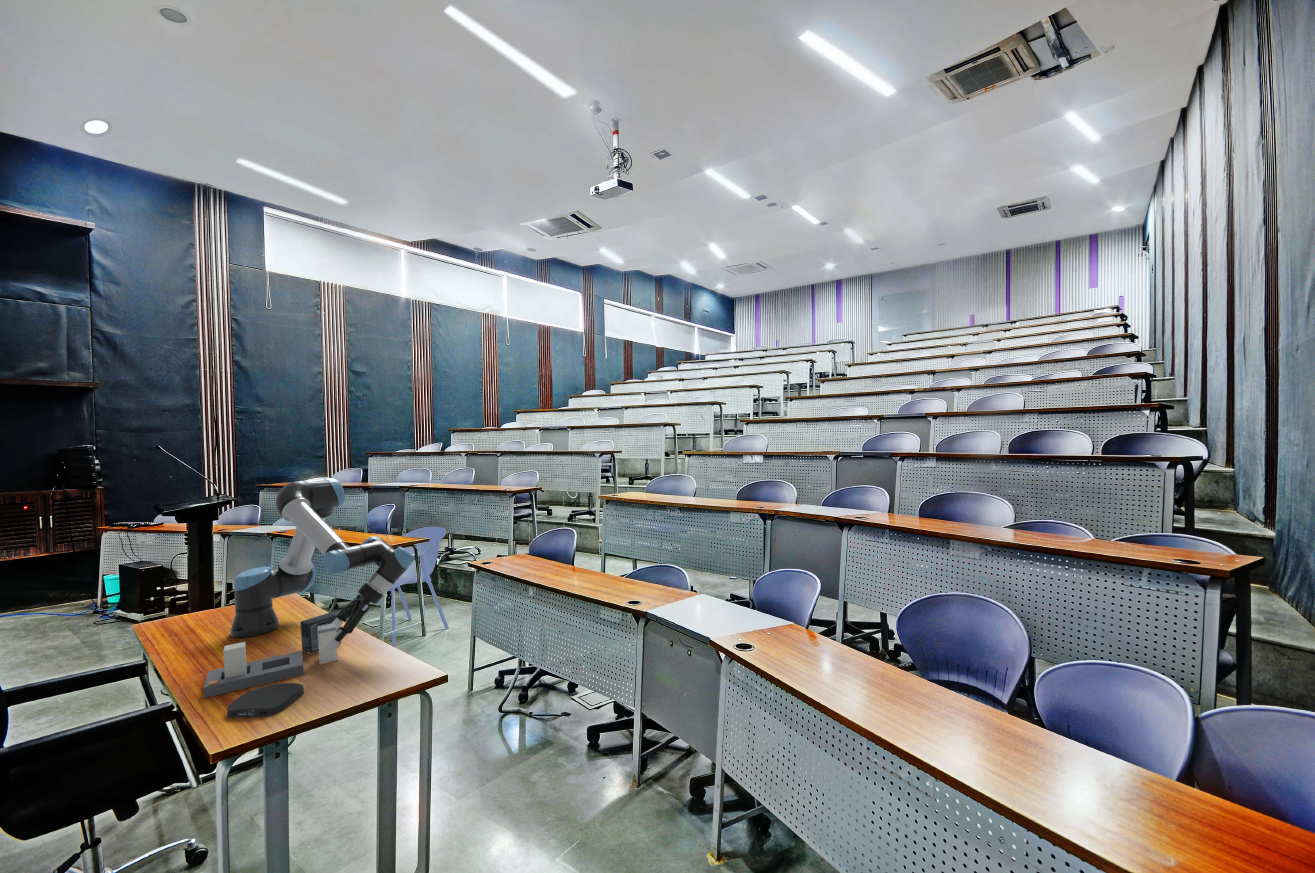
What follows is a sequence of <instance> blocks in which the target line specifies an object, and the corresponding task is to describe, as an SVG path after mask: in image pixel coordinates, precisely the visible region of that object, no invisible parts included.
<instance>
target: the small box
mask: <svg viewBox="0 0 1315 873" xmlns="http://www.w3.org/2000/svg"><path fill="white" fill-rule="evenodd" d="M337 616H338V613H335V612H327V613H324V614H320V615H318V616H313V617H311V618H308V619H304V620H300V624H299V625H300V632H301V633H300V637H301V638H300V640H301V651H302V650H303V651H302V652H304V651H305V653H307V652H309V653H308V654H310V653H312V654H314V653H317V652H318V629H317V626H322V625H327V624H332V622H333V621H334V620H335V619H336V618H337ZM340 627H341V626H340ZM340 627H339V628H340ZM339 628H338V629H337V630H336V633H337V632H338V631H339V630H340V629H339ZM339 644H342V641H341V642H340V643H339ZM339 644H338V645H339ZM316 651H317V652H316ZM313 652H314V653H313Z"/></svg>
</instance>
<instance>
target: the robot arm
mask: <svg viewBox="0 0 1315 873" xmlns="http://www.w3.org/2000/svg"><path fill="white" fill-rule="evenodd" d="M344 490H345V489H344V488H343V485H342V484H341V482H340V481H339V480H338V479H337V478H329V477H327V478H325V477H324V478H321V479H320V478H318V479H309V480H295V481H291V482H289V483H287V484H286V485H284V486H283V487H282V488H281V489H280V490H279V491H278V493H277V496H276V499H275V507H276V510H277V512H278V514H279V515H280V516H281V518H283V519H284V520H285V521H288V522H291V523H292V524H293V526H294V527H295V531H294V534H293V537H292V539H291V542H290V545H289V548H288V550H287V554H286V556H285V557H283V558H281V559H280V560H279V564H278V566H277V567H275V568H271V567H270V566H260V567H255V568H250V569H247V570H244V571H242V572H240V573H239V574H237V575H236V576H235V577H234V581H233V583H234V584H233V591H234V592H233V594H234V608H235V611H234V612H235V613H234V618H233V621H232V624H231V626H230V637H231V638H235V637H237V639H238V637H243V638H251V637H256V636H260V635H259V634H261V635H263V633H264V634H267V633H270V632H272V630H273V631H275V630H277V629H278V628H279V626H280V621H279V617H278V615H277V613H276V611H275V609H274V607H273V600H274V599H278V598H282V597H286V596H289V595H293V594H298V593H301V592H304V591H307V590H308V589H310V588H311V587H312V586H313V585H314V584H315V580H316V575H317V574H316V571H317V570H316V567H315V565H314V564H313V562H312V557H313V554H314V552H315V550H316V549H317V551H318V552H319V553H320V554H321V555H322V556H323V557H322V567H324V568H323V569H324V571H325V572H326V573H328V574H337V573H343V572H344V573H345V572H346V571H347V572H348V571H351V570H353V569H359V568H362V567H366V566H370V565H374V564H375V565H376V566H377V567H378V568H377V569H376V571H375V572H373V573H372V575H371V576H370V577H369V578H368V579H367V582H366V583H364V584H362V586H361V587H360V588H359V589H358V590H357V591H358V595H356V597H355V598H354V599H353V600H352V601H351V602H349V603H348V604H347V605H346V606H345V607H343V609H341V610H340V611H339V612H338V613H337V614H338V616H337V618H336V619H335V620H334V621H333V622H332V623H335V625H336V630H337V629H338V628H339V627H340V628H339V629H340V630H339V631H338V632H337V633H336V634H335V635H334V637H333V638H332V639H331V640H330V641H329V642H328V643H327V644H326V645H325V648H327V649H328V650H330V651H333V650H334V649H335V648H336V647H337V648H338V645H339V643H340V642H341V643H342V641H343V640H344V639H345V638H346V637H347V636H348V635H349V634H352V633H353V632H354V630H355V628H356V627H357V626H358V624H359V622H361V620H362V619H363V617H364V616H365V614H366V613H367V612H368V610H370V608H371V606H370V603H372V604H373V605H376V604H378V602H380V600H381V599H382V598H383V597H384V594H386V593H387V592H388V591H389V590H392V589H393V586H394V585H395V583H396V582H397V581H398V579H400V577H401V576H402V575H404V573H406V571H407V570H408V569H409V567H410V566H411V565H412V564H413V563H414V561H415V558H416V557H415V556H414V555H413V554H412V553H410V552H409V551H408V550H406V549H405V548H404V547H403V546H398V547H396V548H393V547H392V546H391V545H390V544H388V543H387V542H386V541H385V540H384V539H382V538H380V537H378V536H375V535H373V536H370V537H368V538H366V539H365V540H363V542H362V543H361V544H359V545H353V546H350V545H349V544H348V543H346V542H345V541H344V539H342V538H341V536H339V534H338V533H337V532H335V530H334V529H333V528H332V527H331V526H330V525H329V524H328V523H327V522H326V519H327V518H330V517H331V516H332V514H333V512H334V510H335V508H340V507H341V506H343V504H344V502H345V496H346V495H345V491H344ZM342 625H343V626H342ZM274 629H275V630H274ZM250 636H251V637H250ZM341 643H340V644H341Z"/></svg>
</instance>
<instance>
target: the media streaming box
mask: <svg viewBox="0 0 1315 873" xmlns="http://www.w3.org/2000/svg"><path fill="white" fill-rule="evenodd" d="M304 693H305V688H304V685H303V684H301V683H297V682H296V683H295V682H281V683H273V684H267V685H264V686H261V687H258V688H254V689H251V690H249V691H247V692H245V693H243V694H241V695H240V696H238V697H237V698H236V699H235V700H233V701H232V702H231V703H230V704H229V705H228V706H227V709H226V710H227V717H228V718H230V719H235V718H236V719H241V718H242V717H244V718H257V717H258V718H259V717H260V718H261V717H267V716H268V717H269V716H271V715H276V714H278V713H281V712H283V711H284V710H286V709H287V708H288V707H290V706H291V705H293V703H295V702H296V701H297V700H298V699H300V698H301V697H302V696H304Z"/></svg>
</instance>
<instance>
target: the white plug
mask: <svg viewBox="0 0 1315 873" xmlns="http://www.w3.org/2000/svg"><path fill="white" fill-rule="evenodd" d="M317 629H318V651H317V653H318V662H319V665H323V664H328V663H332V662H331V661H333V662H337V661H338V646H337V647H336V648H335V649H334V650H333V651H330V650H328V649H327V648H325V645H326V644H327V643H328V642H329V641H330V640H331V639H332V638H333V637H334V635H335V634H336V625H335V623H332V624H327V625H322V626H317ZM336 660H337V661H336Z"/></svg>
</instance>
